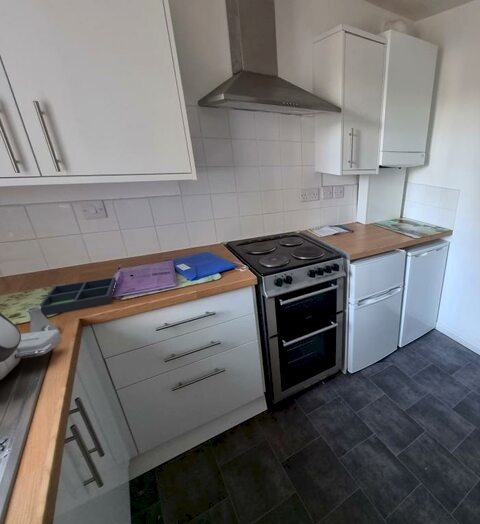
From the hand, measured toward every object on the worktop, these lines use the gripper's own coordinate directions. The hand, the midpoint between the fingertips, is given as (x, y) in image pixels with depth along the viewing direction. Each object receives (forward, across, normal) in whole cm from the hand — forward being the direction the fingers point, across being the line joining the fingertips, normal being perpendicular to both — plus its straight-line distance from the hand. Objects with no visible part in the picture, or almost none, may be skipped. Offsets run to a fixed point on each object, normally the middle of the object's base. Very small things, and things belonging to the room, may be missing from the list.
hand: (28, 330), depth 87 cm
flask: (+5, 0, +6) cm, 7 cm away
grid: (+30, 0, +6) cm, 31 cm away
